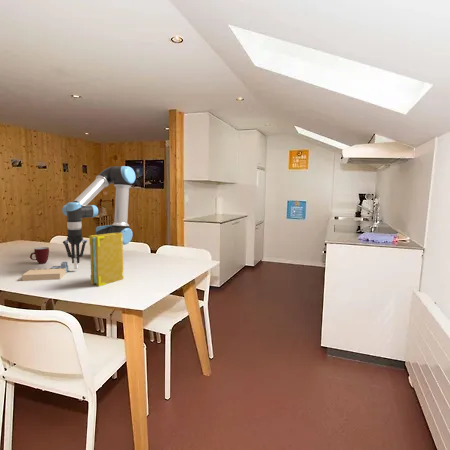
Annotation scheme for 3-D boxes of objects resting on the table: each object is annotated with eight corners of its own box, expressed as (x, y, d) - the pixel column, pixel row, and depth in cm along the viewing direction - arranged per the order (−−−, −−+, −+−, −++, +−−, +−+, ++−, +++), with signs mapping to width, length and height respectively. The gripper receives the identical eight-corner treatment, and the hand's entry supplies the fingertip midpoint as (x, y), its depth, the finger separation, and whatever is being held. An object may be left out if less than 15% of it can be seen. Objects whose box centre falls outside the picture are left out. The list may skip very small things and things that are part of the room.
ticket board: (65, 273, 176) (65, 267, 176) (59, 279, 165) (59, 273, 164) (30, 274, 172) (30, 269, 172) (22, 280, 160) (21, 274, 160)
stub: (68, 270, 182) (68, 261, 181) (66, 272, 177) (65, 263, 176) (53, 271, 180) (53, 261, 179) (50, 273, 175) (50, 264, 174)
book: (99, 286, 153) (97, 236, 151) (90, 284, 157) (89, 235, 154) (126, 278, 168) (125, 233, 165) (118, 276, 171) (117, 232, 168)
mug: (31, 265, 192) (30, 250, 191) (29, 263, 198) (28, 248, 197) (50, 263, 199) (50, 248, 197) (48, 261, 205) (47, 246, 204)
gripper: (87, 228, 183) (89, 266, 186) (64, 228, 180) (65, 267, 183) (85, 229, 176) (86, 269, 179) (60, 229, 173) (62, 270, 175)
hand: (76, 268), depth 181 cm, fingers closed
